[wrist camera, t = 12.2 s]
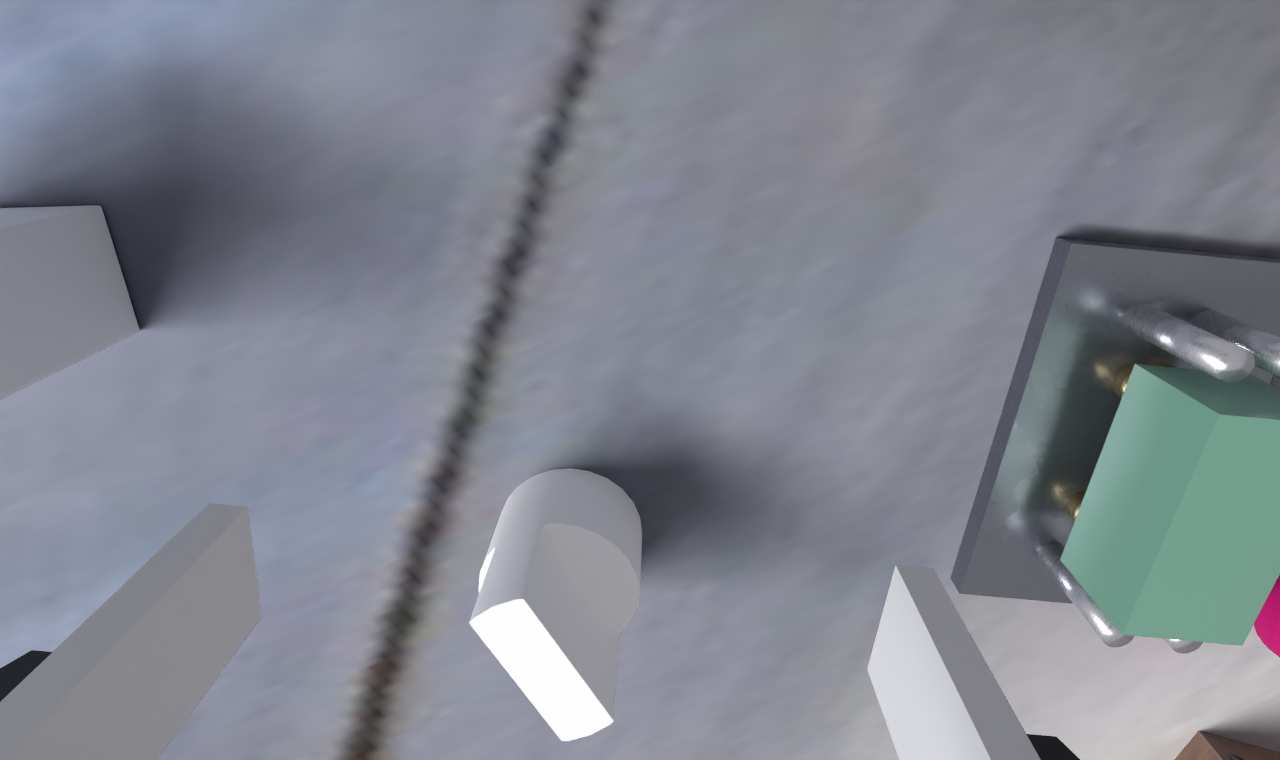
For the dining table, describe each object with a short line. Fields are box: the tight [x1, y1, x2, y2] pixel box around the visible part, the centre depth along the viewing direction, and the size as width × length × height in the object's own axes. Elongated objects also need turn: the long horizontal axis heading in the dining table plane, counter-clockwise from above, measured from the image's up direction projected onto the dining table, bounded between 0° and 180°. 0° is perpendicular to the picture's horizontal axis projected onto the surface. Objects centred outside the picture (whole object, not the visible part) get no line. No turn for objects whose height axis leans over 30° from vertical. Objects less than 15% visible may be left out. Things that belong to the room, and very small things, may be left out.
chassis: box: [951, 237, 1280, 653], centre depth 39 cm, size 22×13×8 cm, turn 175°
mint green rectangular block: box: [1060, 364, 1280, 646], centre depth 36 cm, size 12×6×6 cm, turn 175°
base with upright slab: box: [469, 468, 642, 741], centre depth 41 cm, size 9×9×12 cm
